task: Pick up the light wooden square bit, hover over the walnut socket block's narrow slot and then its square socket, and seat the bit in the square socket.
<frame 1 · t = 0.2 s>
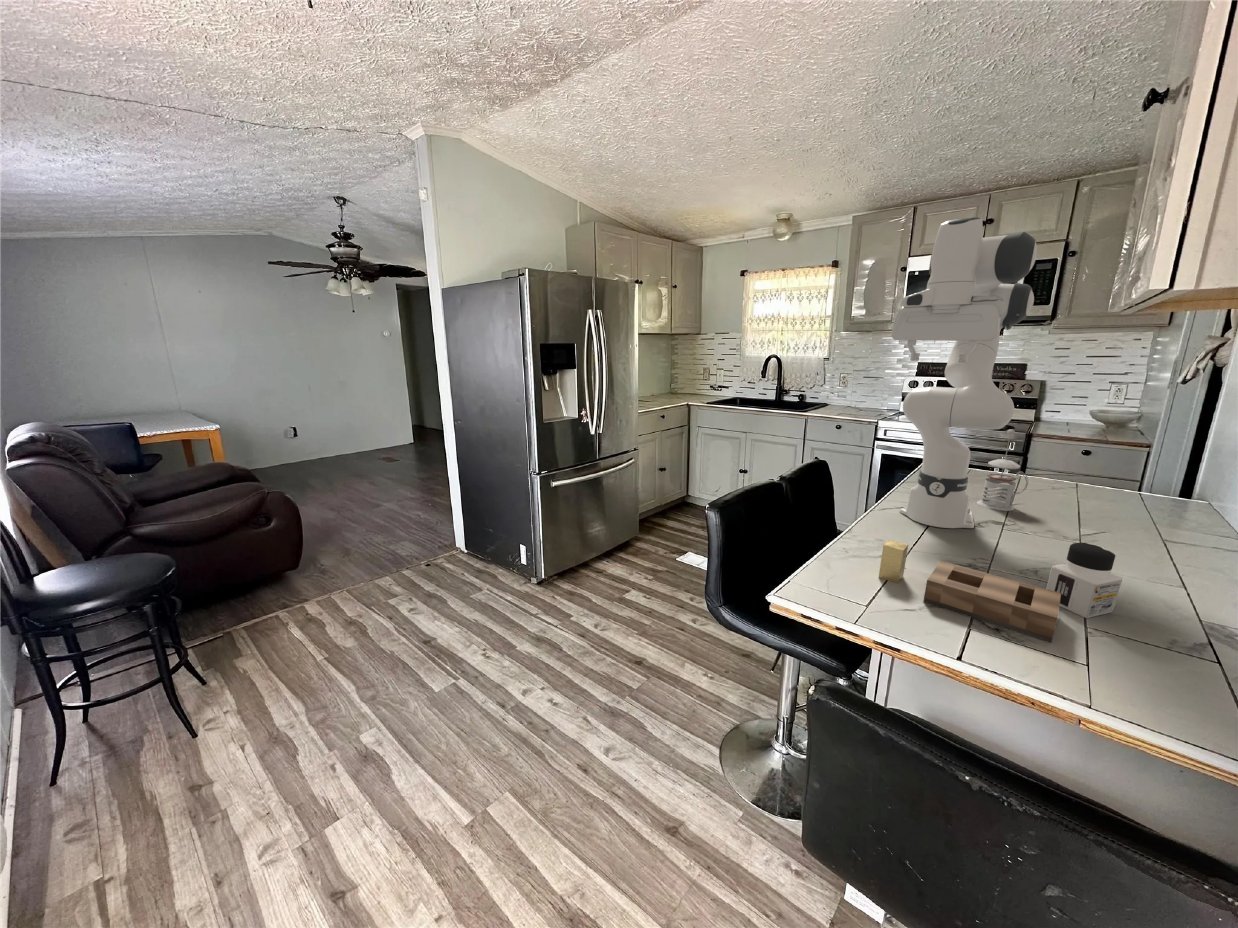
hand: (937, 361, 110), 47 cm above the counter, tool pointing down, fingers open, 8 cm apart
french press: (998, 506, 156), on the counter
light wooden square bit: (890, 577, 110), on the counter
container: (1076, 606, 98), on the counter
walnut socket block: (987, 608, 97), on the counter
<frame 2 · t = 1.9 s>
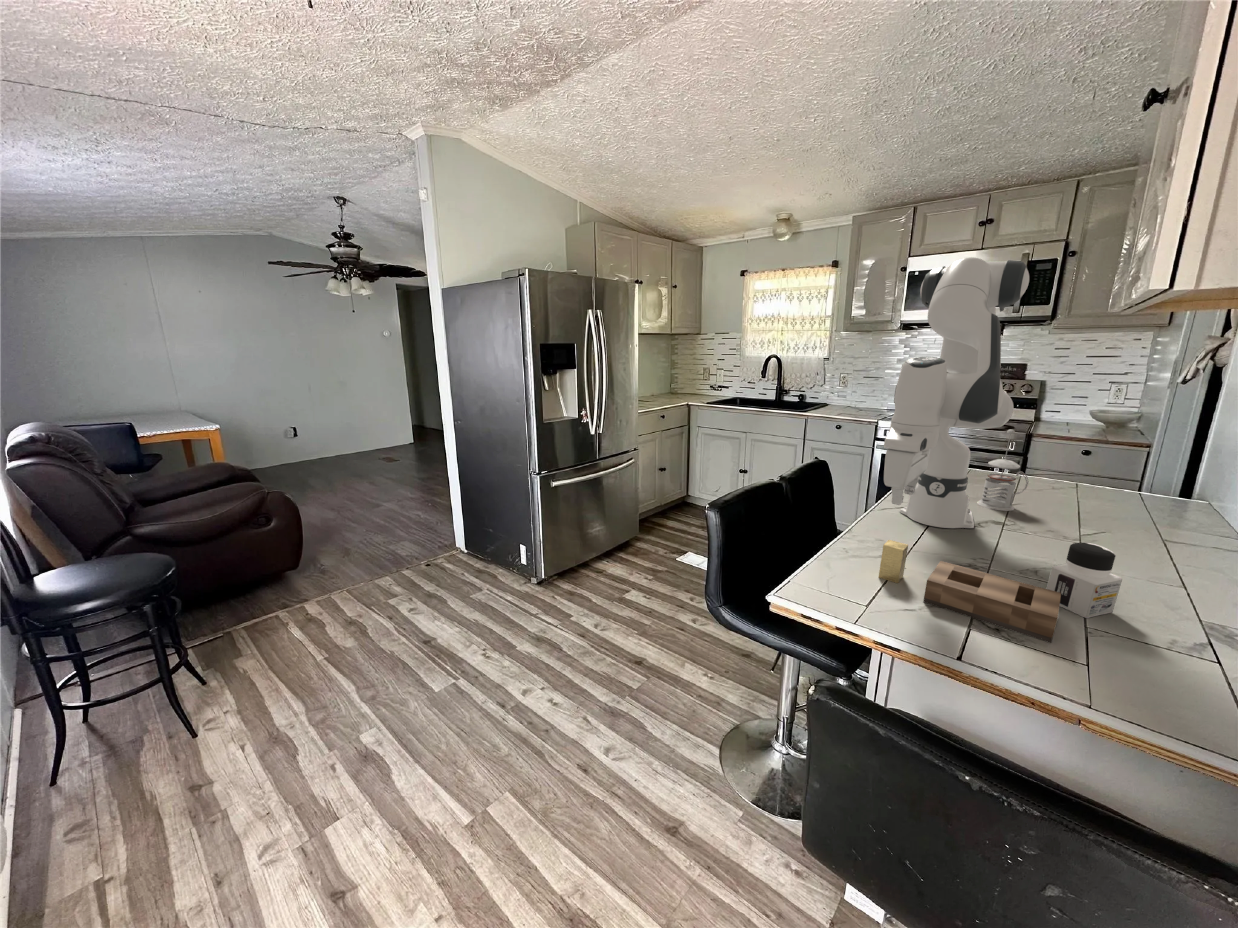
hand: (903, 498, 105), 19 cm above the counter, tool pointing down, fingers open, 8 cm apart
nothing on the counter moved.
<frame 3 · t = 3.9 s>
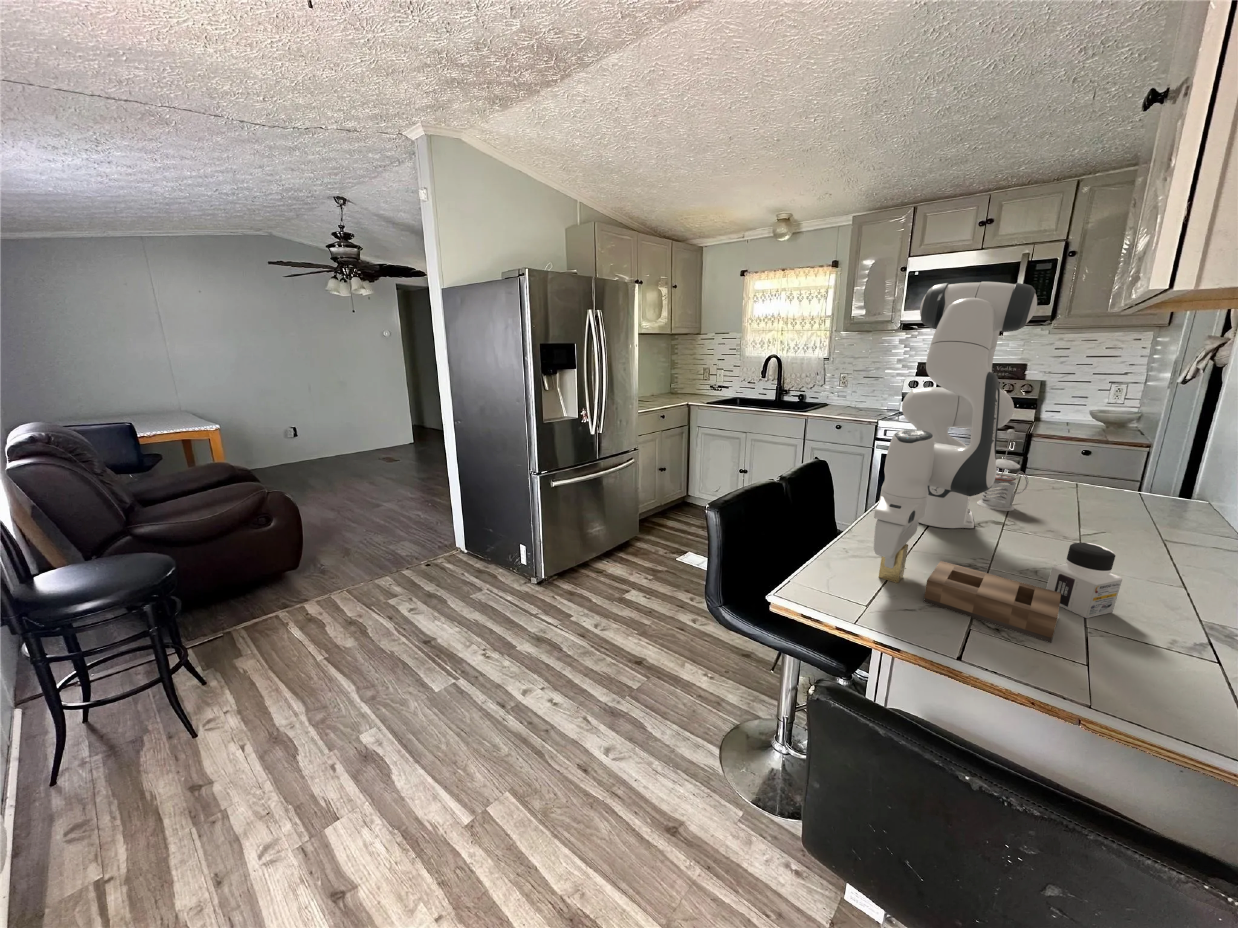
hand: (893, 562, 109), 4 cm above the counter, tool pointing down, fingers closed on light wooden square bit, 4 cm apart
light wooden square bit: (890, 577, 110), on the counter, touching gripper
everything else where it was.
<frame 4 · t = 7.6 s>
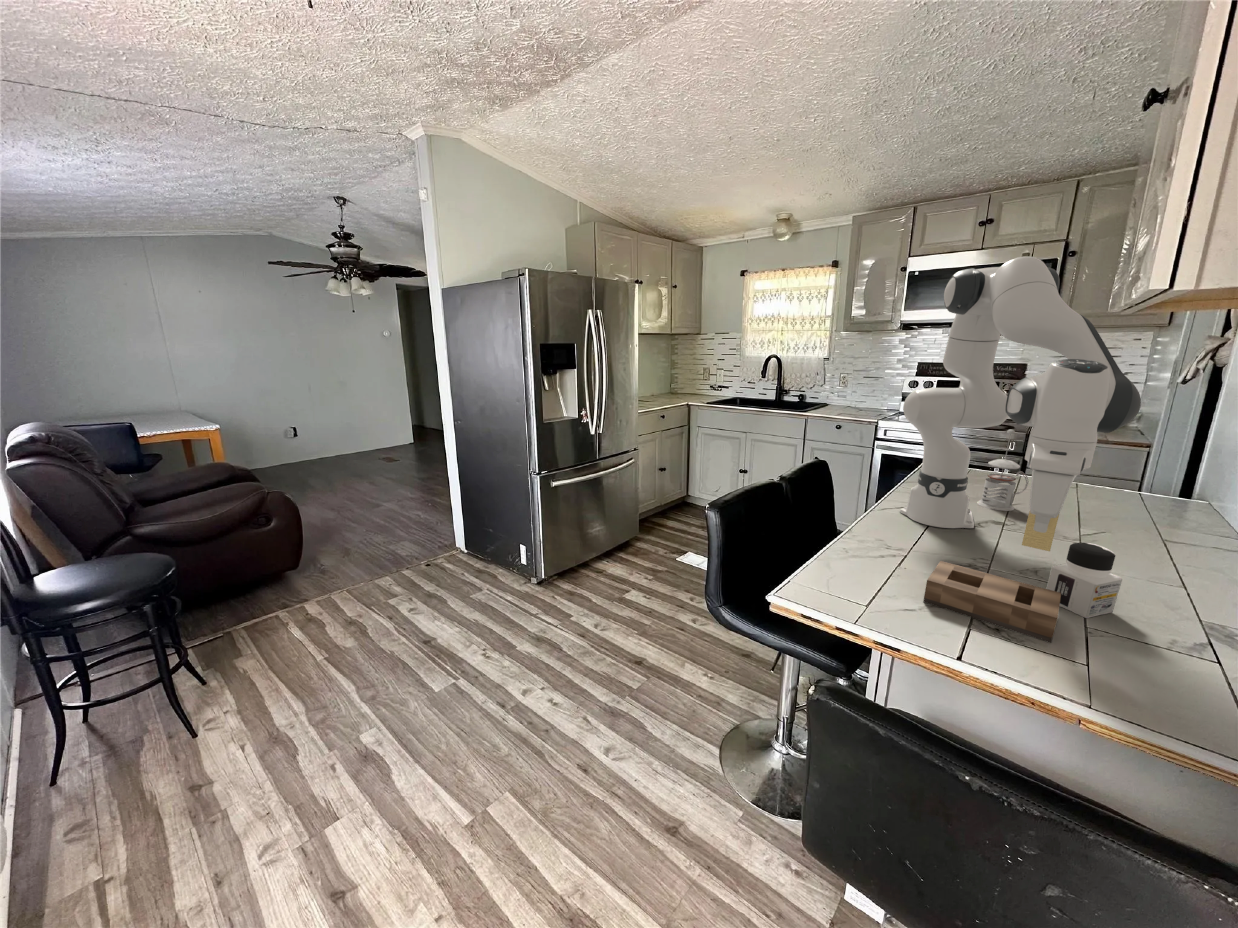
hand: (1040, 526, 89), 19 cm above the counter, tool pointing down, fingers closed on light wooden square bit, 4 cm apart
light wooden square bit: (1036, 544, 90), point 15 cm above the counter, touching gripper
everything else where it was.
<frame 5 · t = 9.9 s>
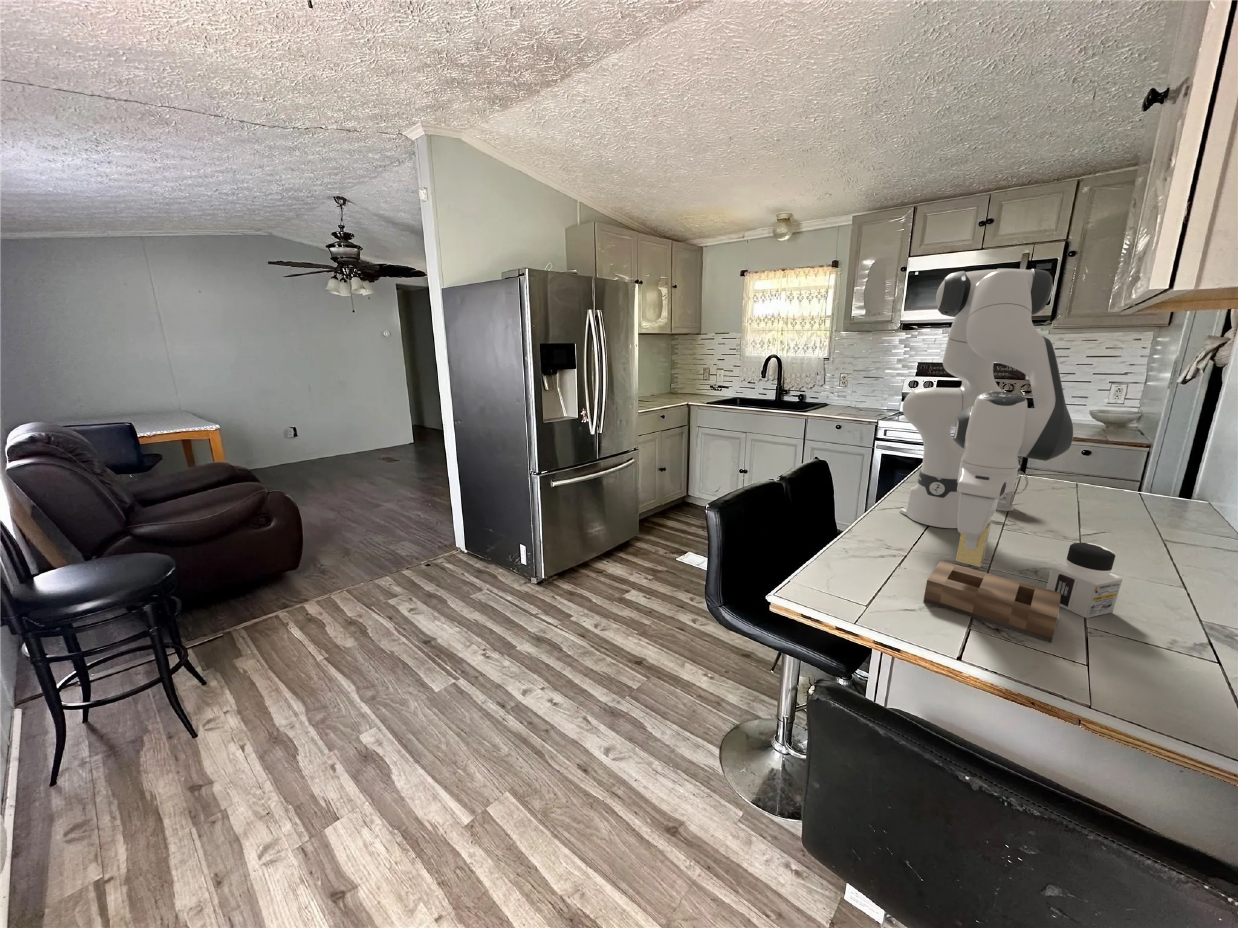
hand: (972, 543, 97), 13 cm above the counter, tool pointing down, fingers closed on light wooden square bit, 4 cm apart
light wooden square bit: (969, 560, 98), point 9 cm above the counter, touching gripper
everything else where it was.
when the fingers open (6 cm above the counter, at t = 11.6 s): light wooden square bit drops 1 cm, resting on walnut socket block.
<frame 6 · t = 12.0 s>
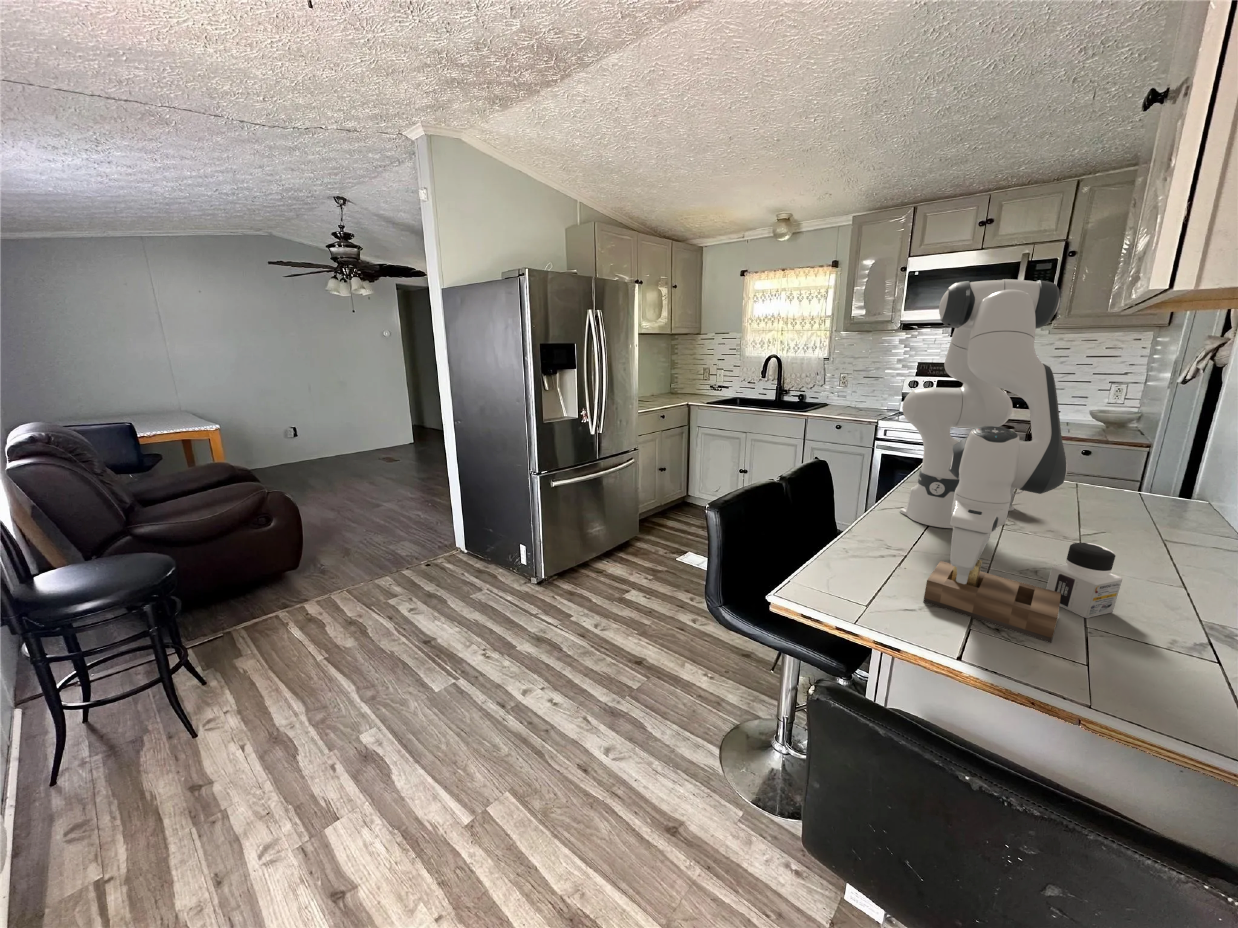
hand: (966, 573, 99), 6 cm above the counter, tool pointing down, fingers open, 8 cm apart
light wooden square bit: (961, 596, 100), point 1 cm above the counter, touching walnut socket block
everything else where it was.
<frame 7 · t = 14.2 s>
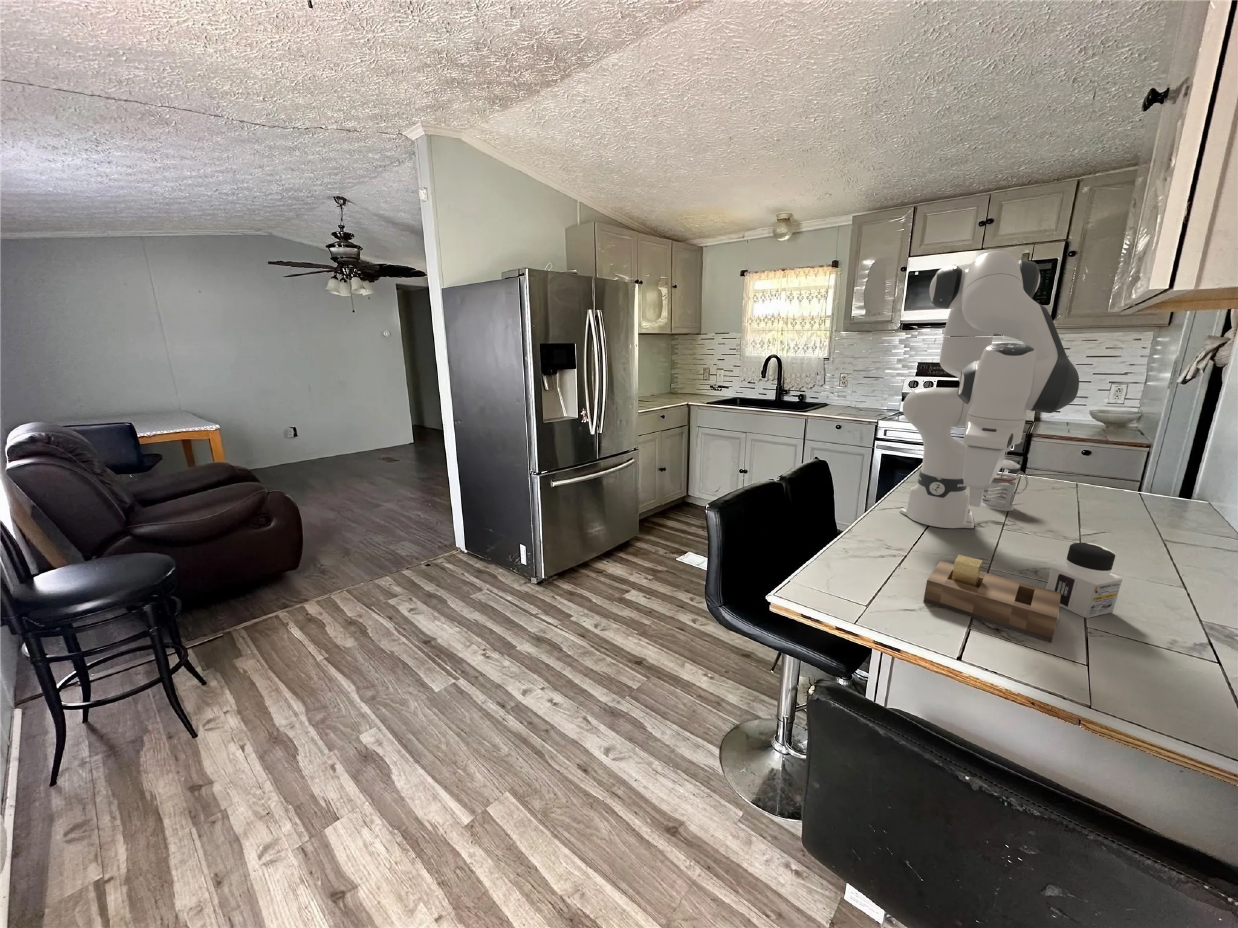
hand: (978, 499, 96), 22 cm above the counter, tool pointing down, fingers open, 8 cm apart
nothing on the counter moved.
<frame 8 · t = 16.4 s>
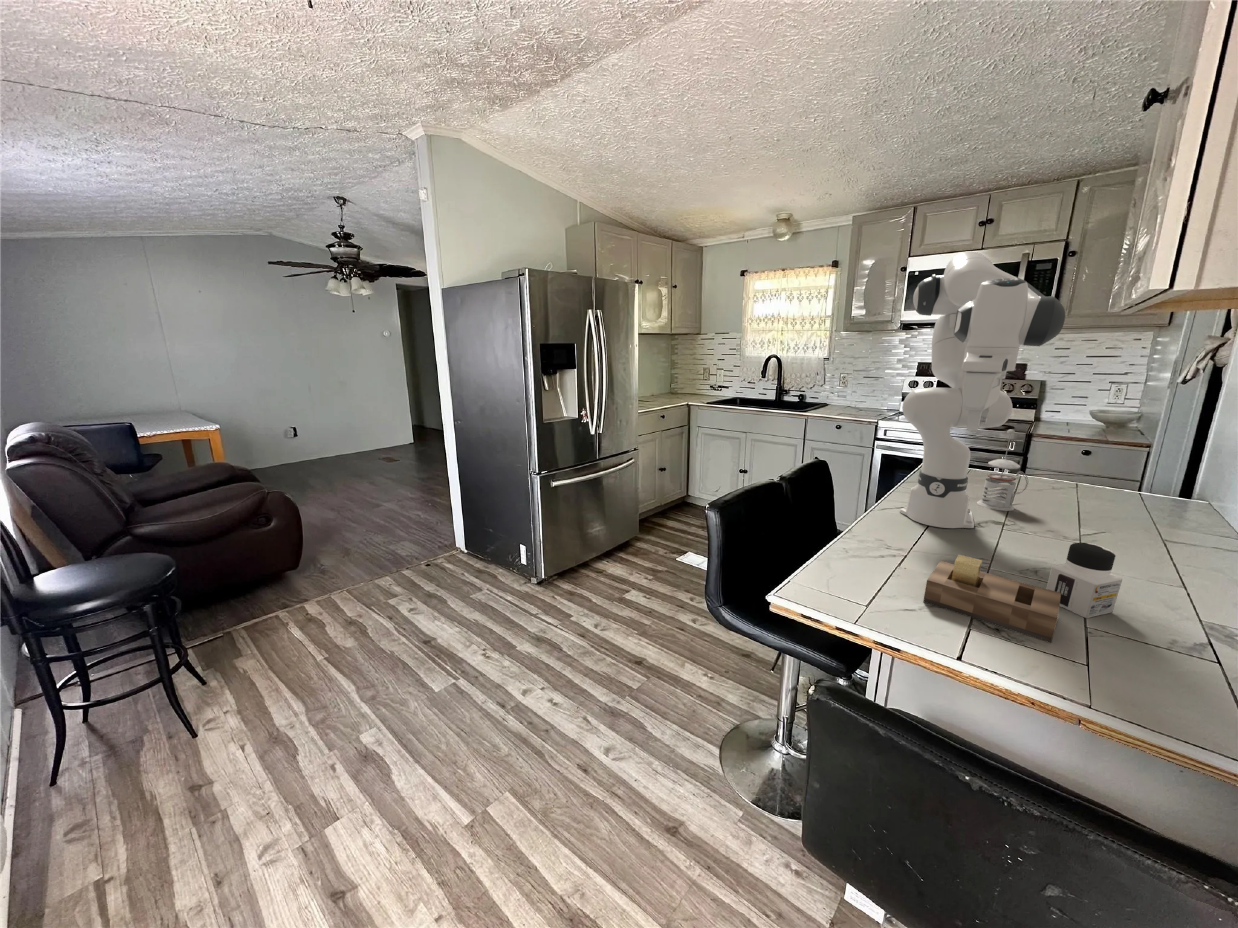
hand: (976, 427, 104), 34 cm above the counter, tool pointing down, fingers open, 8 cm apart
nothing on the counter moved.
at the end: light wooden square bit 0.0 cm from the target spot on the walnut socket block, point 1.0 cm above the walnut socket block's base; light wooden square bit tilted 0°; the gripper is holding nothing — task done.
